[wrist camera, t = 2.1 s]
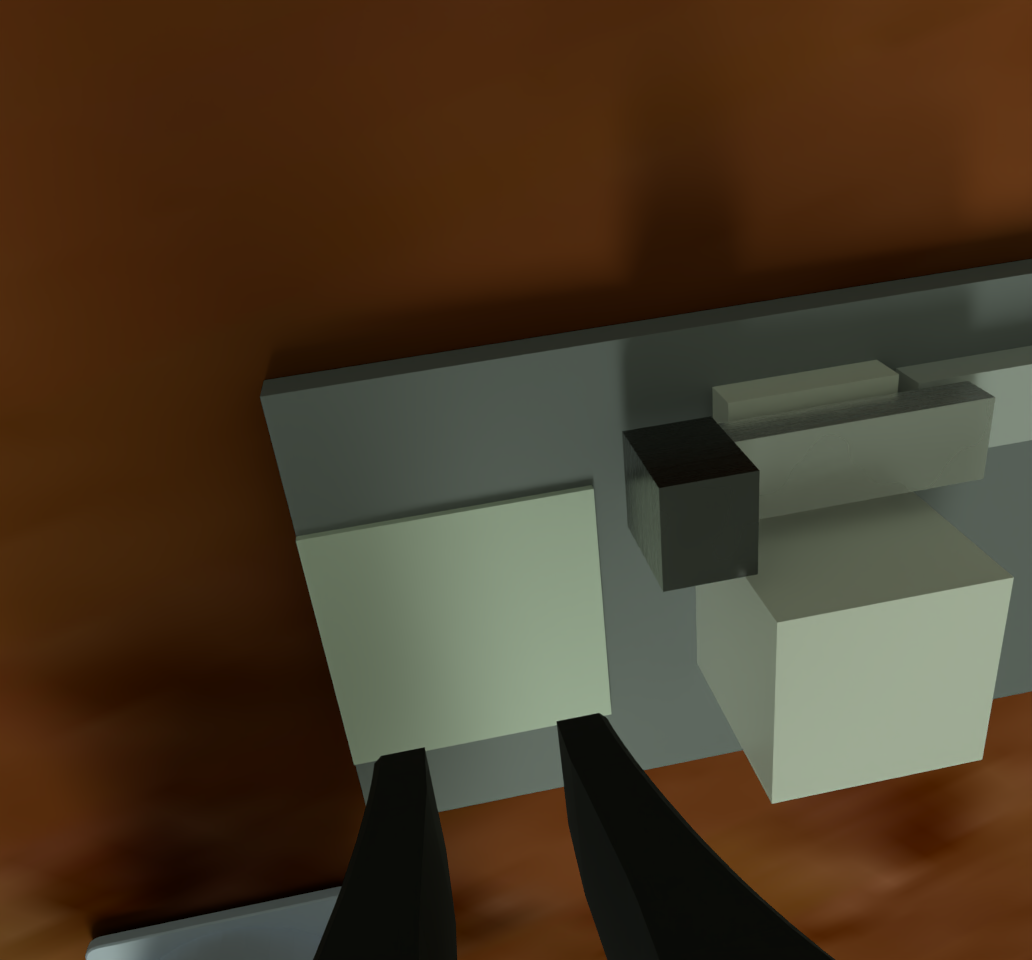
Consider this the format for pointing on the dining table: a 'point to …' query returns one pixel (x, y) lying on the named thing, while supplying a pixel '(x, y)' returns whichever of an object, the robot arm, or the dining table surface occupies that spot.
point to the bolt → (789, 472)
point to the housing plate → (590, 517)
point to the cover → (851, 624)
